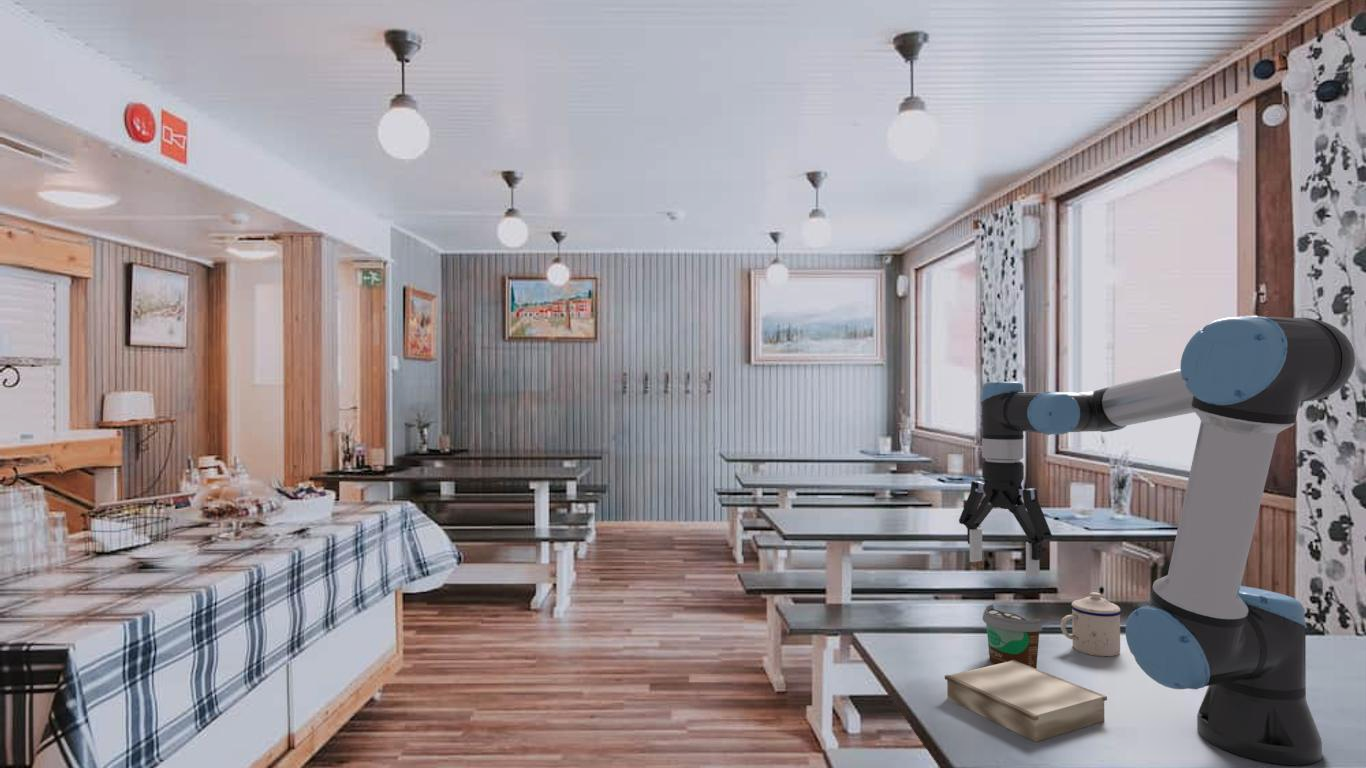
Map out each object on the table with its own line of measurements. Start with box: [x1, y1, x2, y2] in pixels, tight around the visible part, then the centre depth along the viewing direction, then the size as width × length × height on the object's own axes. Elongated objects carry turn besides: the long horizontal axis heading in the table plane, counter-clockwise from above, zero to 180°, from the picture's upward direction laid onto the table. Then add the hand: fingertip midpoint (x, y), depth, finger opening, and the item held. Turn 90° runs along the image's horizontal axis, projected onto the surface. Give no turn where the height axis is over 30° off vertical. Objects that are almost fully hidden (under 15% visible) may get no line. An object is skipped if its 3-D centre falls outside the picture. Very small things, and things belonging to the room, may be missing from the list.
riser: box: [944, 660, 1108, 743], centre depth 127 cm, size 18×17×4 cm
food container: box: [982, 604, 1043, 669], centre depth 148 cm, size 12×6×10 cm, turn 25°
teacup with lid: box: [1060, 591, 1122, 657], centre depth 155 cm, size 12×9×12 cm
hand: (1003, 568), depth 148 cm, fingers open, 13 cm apart
